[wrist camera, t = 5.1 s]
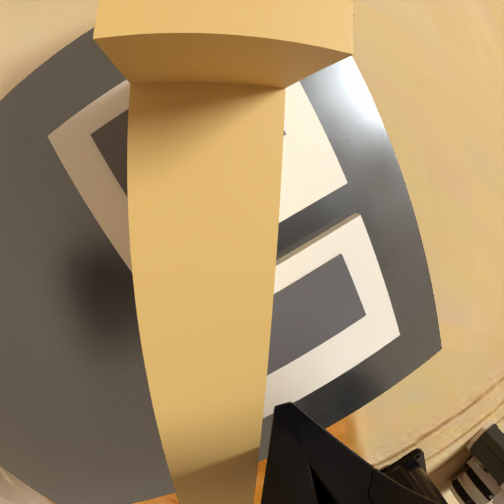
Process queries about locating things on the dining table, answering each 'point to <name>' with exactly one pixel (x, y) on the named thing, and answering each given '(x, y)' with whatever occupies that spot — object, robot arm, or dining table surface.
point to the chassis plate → (123, 297)
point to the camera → (483, 469)
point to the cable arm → (210, 210)
